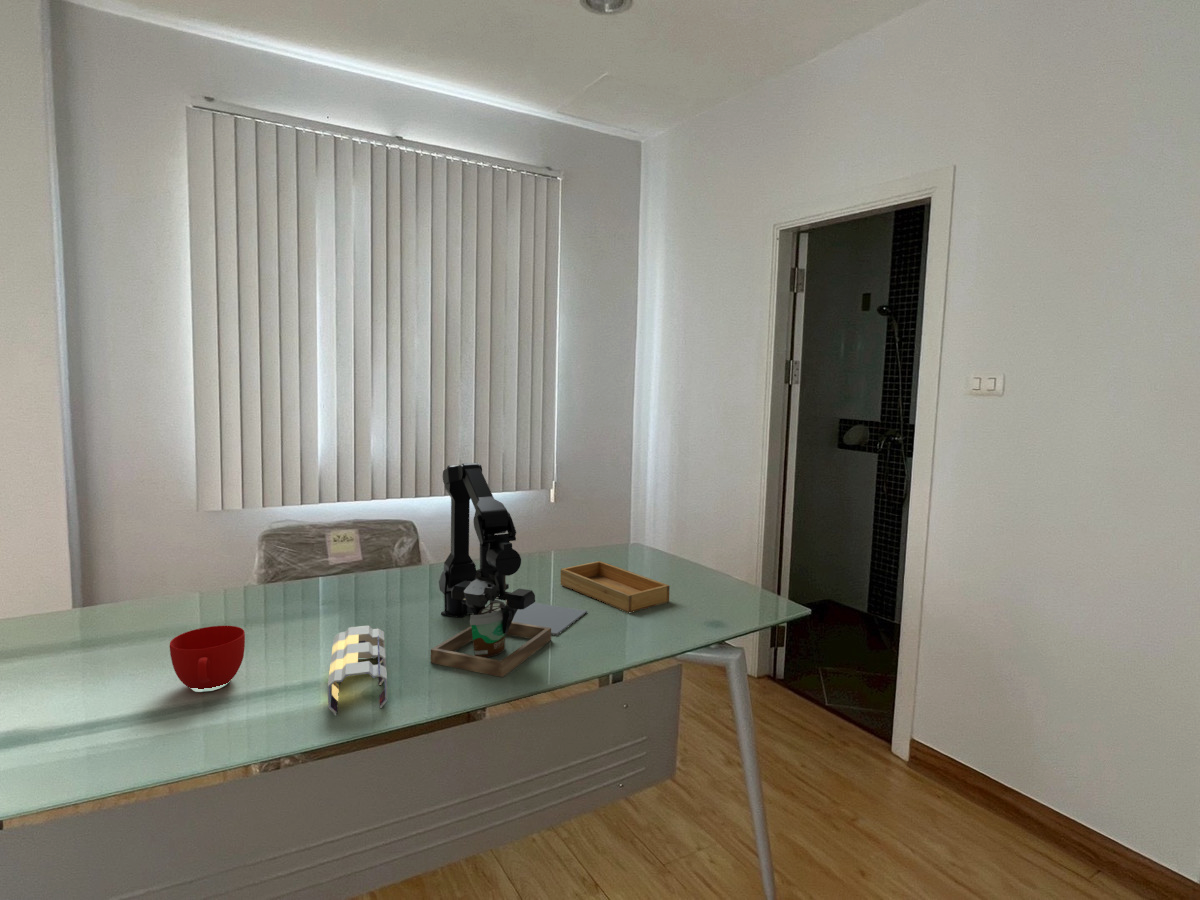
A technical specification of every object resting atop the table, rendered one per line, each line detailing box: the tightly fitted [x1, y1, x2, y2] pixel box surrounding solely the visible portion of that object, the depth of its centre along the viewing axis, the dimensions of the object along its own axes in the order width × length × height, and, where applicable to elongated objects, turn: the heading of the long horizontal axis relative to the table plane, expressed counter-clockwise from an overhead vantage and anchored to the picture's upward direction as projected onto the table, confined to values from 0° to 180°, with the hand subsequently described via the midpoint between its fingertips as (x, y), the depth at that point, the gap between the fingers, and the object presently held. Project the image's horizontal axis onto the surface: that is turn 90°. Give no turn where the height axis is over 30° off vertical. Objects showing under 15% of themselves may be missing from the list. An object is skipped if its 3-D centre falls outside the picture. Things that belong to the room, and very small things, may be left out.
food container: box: [469, 599, 506, 658], centre depth 154 cm, size 12×6×10 cm, turn 167°
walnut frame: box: [430, 622, 552, 678], centre depth 154 cm, size 18×22×3 cm
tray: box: [560, 560, 671, 614], centre depth 196 cm, size 31×15×6 cm, turn 39°
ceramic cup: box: [169, 625, 246, 689], centre depth 134 cm, size 13×17×10 cm
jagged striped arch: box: [327, 625, 388, 715], centre depth 137 cm, size 25×10×13 cm, turn 19°
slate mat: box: [512, 602, 588, 636], centre depth 175 cm, size 18×18×1 cm
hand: (493, 631), depth 154 cm, fingers closed on food container, 6 cm apart
